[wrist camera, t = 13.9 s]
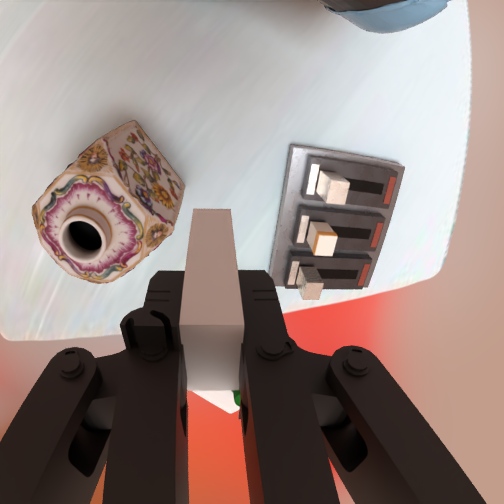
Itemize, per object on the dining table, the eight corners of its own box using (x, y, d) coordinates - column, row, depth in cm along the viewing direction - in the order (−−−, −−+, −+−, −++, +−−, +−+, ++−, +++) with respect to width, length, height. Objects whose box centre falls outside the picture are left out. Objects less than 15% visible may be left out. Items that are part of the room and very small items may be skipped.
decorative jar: (136, 116, 35) (82, 144, 20) (188, 185, 41) (174, 255, 26) (73, 173, 38) (4, 232, 22) (124, 233, 43) (85, 316, 28)
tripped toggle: (310, 220, 41) (319, 234, 38) (327, 222, 42) (338, 236, 38) (306, 240, 43) (314, 255, 39) (323, 241, 43) (332, 256, 40)
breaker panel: (290, 144, 40) (306, 158, 33) (398, 163, 42) (427, 180, 36) (267, 278, 50) (276, 311, 43) (363, 280, 53) (381, 309, 46)
